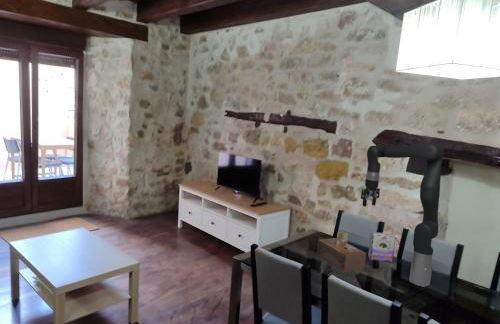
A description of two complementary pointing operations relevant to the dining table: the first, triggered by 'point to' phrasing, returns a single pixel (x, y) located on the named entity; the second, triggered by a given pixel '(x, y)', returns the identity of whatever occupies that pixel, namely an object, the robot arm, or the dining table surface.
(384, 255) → the candy box
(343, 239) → the oak block
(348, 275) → the dining table surface
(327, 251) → the tissue box cover
